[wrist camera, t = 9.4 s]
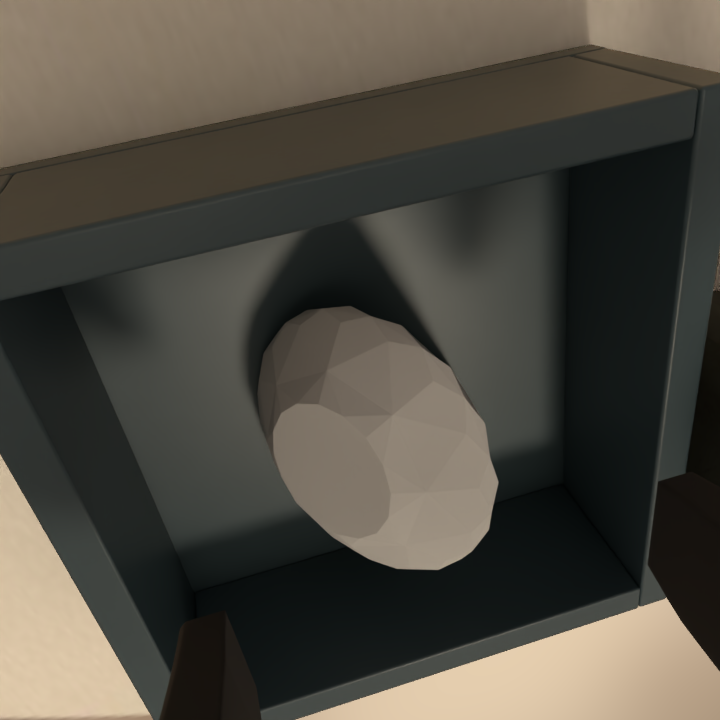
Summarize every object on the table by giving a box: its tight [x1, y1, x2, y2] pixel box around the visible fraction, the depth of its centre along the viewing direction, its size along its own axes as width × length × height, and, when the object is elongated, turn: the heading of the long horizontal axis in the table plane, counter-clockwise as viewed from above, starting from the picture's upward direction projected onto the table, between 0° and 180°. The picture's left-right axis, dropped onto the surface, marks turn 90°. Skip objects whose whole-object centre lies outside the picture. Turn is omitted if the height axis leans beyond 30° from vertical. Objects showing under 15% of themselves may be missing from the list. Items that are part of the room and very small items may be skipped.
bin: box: [0, 45, 720, 720], centre depth 15 cm, size 13×13×5 cm
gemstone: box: [257, 306, 498, 570], centre depth 15 cm, size 6×6×5 cm
